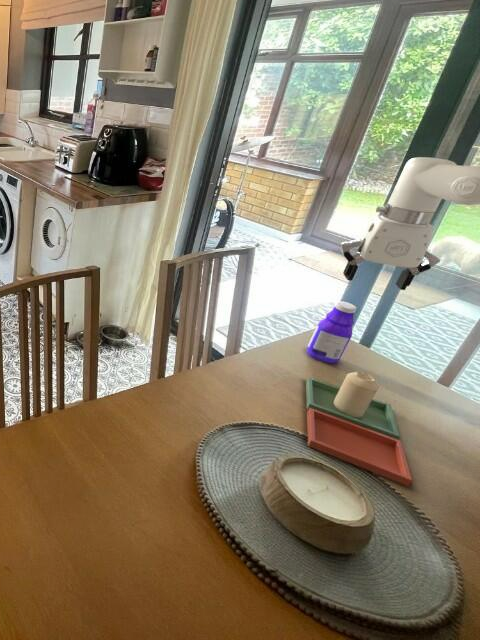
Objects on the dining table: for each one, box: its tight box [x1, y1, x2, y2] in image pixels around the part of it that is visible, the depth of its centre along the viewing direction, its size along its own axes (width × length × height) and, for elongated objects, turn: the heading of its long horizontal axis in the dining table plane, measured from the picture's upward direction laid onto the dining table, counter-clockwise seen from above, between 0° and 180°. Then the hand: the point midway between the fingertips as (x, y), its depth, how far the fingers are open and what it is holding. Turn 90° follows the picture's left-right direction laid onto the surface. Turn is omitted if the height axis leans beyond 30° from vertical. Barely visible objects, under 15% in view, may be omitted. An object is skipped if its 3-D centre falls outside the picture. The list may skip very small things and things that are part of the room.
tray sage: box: [305, 376, 400, 440], centre depth 97 cm, size 16×12×2 cm
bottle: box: [306, 300, 357, 364], centre depth 112 cm, size 7×6×17 cm
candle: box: [333, 371, 380, 417], centre depth 95 cm, size 6×6×10 cm
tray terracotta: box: [306, 408, 413, 487], centre depth 87 cm, size 16×12×2 cm
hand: (373, 282), depth 98 cm, fingers open, 9 cm apart
